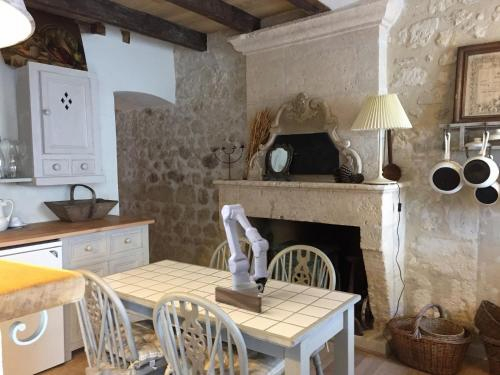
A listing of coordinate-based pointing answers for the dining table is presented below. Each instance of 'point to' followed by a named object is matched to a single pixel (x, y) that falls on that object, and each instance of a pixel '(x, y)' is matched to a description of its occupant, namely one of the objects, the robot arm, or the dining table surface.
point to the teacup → (249, 288)
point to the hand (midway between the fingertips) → (260, 292)
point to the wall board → (238, 299)
